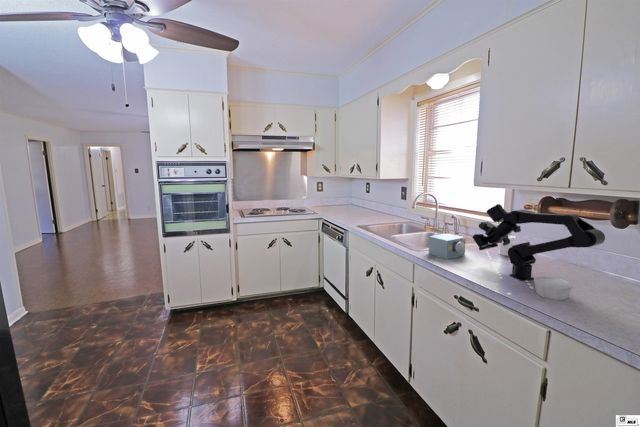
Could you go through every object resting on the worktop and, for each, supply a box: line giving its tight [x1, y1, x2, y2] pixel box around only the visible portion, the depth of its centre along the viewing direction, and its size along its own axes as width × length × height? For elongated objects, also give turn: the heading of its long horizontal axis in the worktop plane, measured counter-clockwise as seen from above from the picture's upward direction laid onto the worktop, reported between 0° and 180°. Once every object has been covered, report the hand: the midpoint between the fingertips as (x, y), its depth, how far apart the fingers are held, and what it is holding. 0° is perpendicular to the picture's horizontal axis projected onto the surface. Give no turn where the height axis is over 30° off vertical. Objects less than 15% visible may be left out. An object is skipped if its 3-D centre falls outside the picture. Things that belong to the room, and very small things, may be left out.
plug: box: [453, 242, 466, 253], centre depth 158 cm, size 14×6×6 cm, turn 26°
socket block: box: [428, 232, 467, 260], centre depth 160 cm, size 12×14×10 cm
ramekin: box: [533, 276, 573, 301], centre depth 108 cm, size 11×11×5 cm
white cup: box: [497, 234, 517, 257], centre depth 158 cm, size 8×8×10 cm
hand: (479, 249), depth 143 cm, fingers closed
